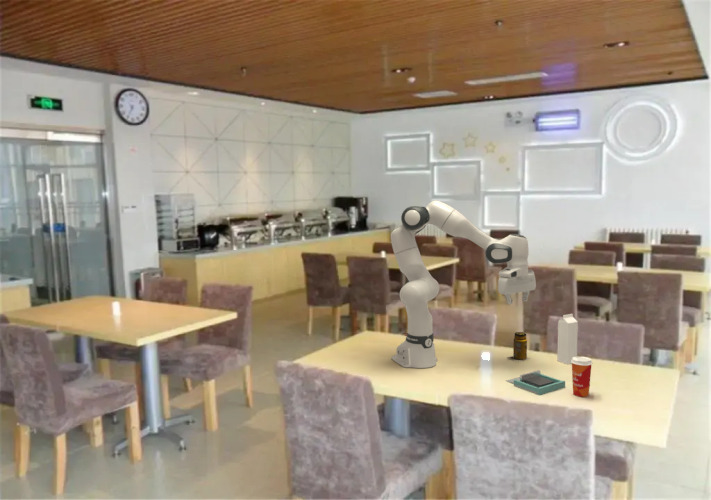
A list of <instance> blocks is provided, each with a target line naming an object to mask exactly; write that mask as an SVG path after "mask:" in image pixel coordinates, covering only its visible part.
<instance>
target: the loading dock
mask: <svg viewBox="0 0 711 500" xmlns="http://www.w3.org/2000/svg"><path fill="white" fill-rule="evenodd" d="M540 377H542V378H545V379H548V380H551V381H554V383H553V384H550V385H546V386H543V387H536V386H534V385H531V384H528V383H525V382H521V381H520V376H518V377H514V378H510V379H506V380H505V382H507V383H509V384H512V385H513V386H514V387H515V388H516V387H517V388H518V389H519V388H520V389H521V390H525V391H527V392H529V393H530V392H531V393H532V394H535V395H538V396H542V395H545V394H547V393H551V392H555V391H559V390H561V389H565V388H566V381H565V380H561V379H558V378H554V377H553V376H549V375H545V374H543V373H541V375H540Z"/></svg>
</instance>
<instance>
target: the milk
mask: <svg viewBox="0 0 711 500" xmlns="http://www.w3.org/2000/svg"><path fill="white" fill-rule="evenodd" d="M578 323H579V321H578V320H577V319H575V317H574V314H573V313H569V314H563V316H562V318H560V319H558V320H557V354H556V355H557V360H556V361H557V362H559V363H563V364H566V365H570V364H571V365H572V362H571V360H572V358H573V357H578V333H579V332H578V327H579V326H578V325H579V324H578Z"/></svg>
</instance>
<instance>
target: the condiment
mask: <svg viewBox="0 0 711 500" xmlns="http://www.w3.org/2000/svg"><path fill="white" fill-rule="evenodd" d="M512 349H513V351H512V353H513V355H512V356H508V357H506V359H509V360H511V361H515V362H517V363H518V362H523V361H527V360H531V358H530V357H528V355H527V354H528V339H527V333H525V332H521V331H518V332H517V331H516V332H515V333H514V338H513V348H512Z"/></svg>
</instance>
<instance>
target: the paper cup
mask: <svg viewBox="0 0 711 500" xmlns="http://www.w3.org/2000/svg"><path fill="white" fill-rule="evenodd" d="M571 362H572V363H571V372H572V375H571V377H572V378H571V379H572V381H571V382H572V393H573V395H574V396H576V397H580V398H586V397H589V394H590V386H591V375H592V374H591V373H592V364H593V361H592V358H590V357H587V356H577V357H573V358H572V360H571Z"/></svg>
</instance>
